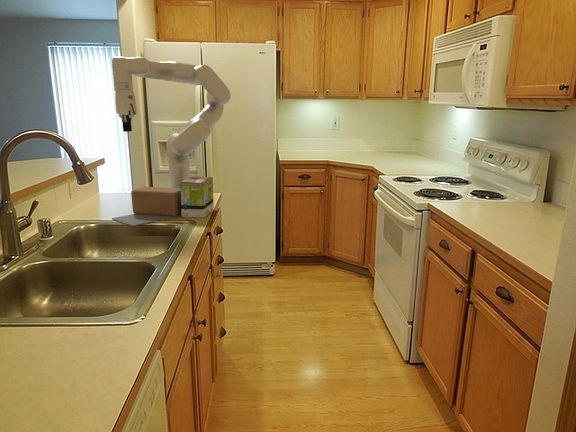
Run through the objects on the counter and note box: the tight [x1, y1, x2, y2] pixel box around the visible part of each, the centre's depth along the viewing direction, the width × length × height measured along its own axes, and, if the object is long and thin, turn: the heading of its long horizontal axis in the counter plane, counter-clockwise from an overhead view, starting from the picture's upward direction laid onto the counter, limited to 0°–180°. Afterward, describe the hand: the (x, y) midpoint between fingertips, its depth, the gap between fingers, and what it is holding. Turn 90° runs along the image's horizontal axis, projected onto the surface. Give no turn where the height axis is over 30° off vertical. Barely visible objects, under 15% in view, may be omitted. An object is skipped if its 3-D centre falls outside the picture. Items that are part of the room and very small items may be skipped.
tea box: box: [180, 176, 215, 219], centre depth 182 cm, size 15×10×15 cm, turn 175°
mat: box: [111, 213, 182, 227], centre depth 177 cm, size 22×16×1 cm
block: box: [130, 186, 182, 216], centre depth 182 cm, size 10×10×20 cm
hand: (127, 131), depth 190 cm, fingers closed
